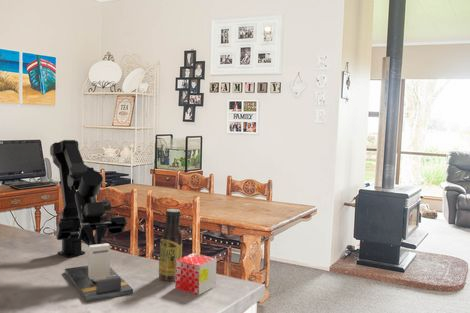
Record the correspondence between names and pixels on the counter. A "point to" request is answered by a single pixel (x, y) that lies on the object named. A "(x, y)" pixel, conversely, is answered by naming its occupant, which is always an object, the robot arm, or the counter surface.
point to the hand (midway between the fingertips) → (97, 253)
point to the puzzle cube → (195, 273)
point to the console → (97, 284)
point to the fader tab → (99, 262)
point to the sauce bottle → (170, 246)
